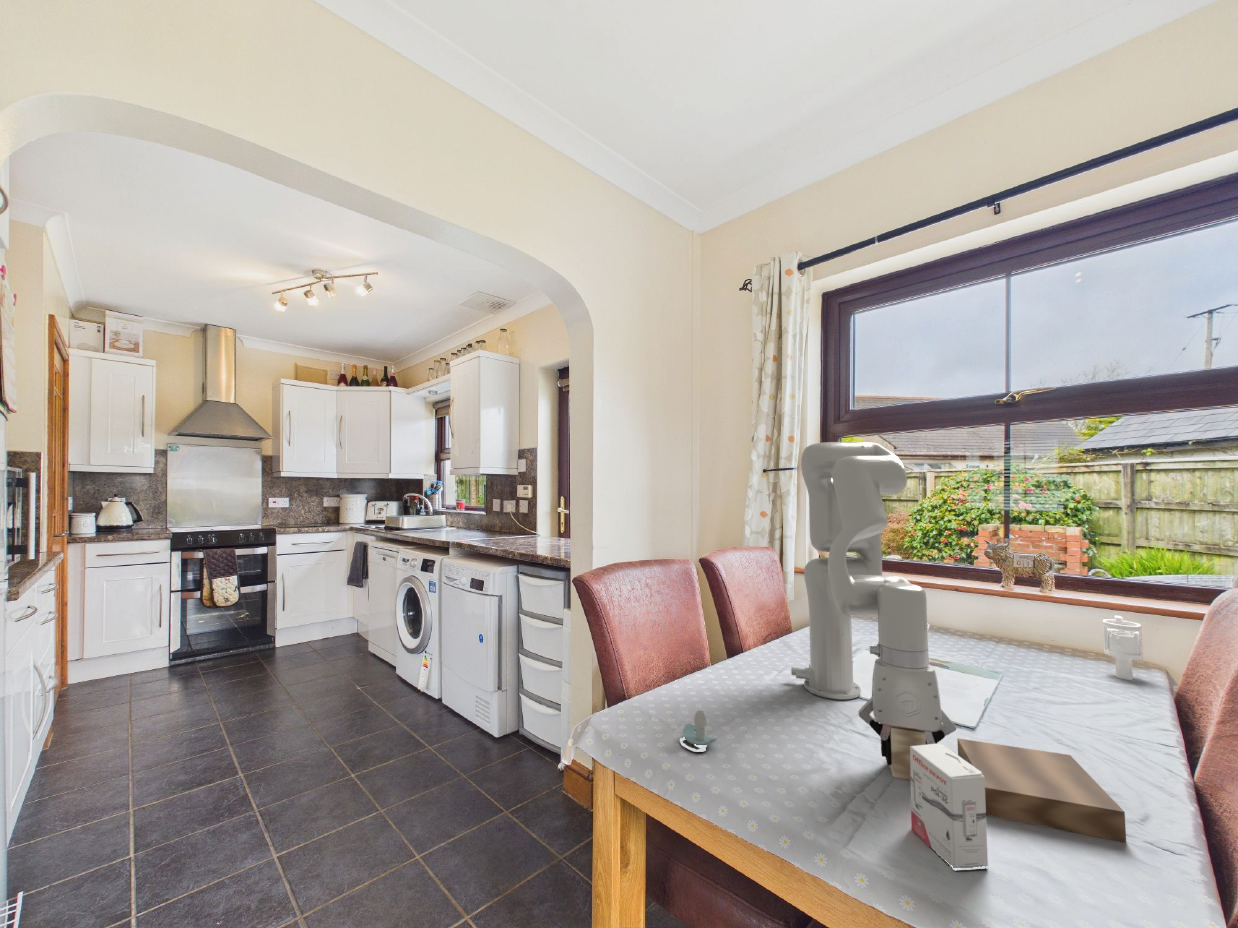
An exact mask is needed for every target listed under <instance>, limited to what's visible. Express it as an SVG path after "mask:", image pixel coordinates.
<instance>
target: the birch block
mask: <svg viewBox="0 0 1238 928" xmlns="http://www.w3.org/2000/svg"><path fill="white" fill-rule="evenodd" d="M889 737H890V741H891V758H892V764H891V765H889V767H890V771H891V775H892V778H898V779H902V780H909V781H911V770H910V746H917V745H926V739H925V731H920V730H913V729H906V728H900V727H893V726H890V733H889Z"/></svg>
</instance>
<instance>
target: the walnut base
mask: <svg viewBox="0 0 1238 928" xmlns="http://www.w3.org/2000/svg"><path fill="white" fill-rule="evenodd" d="M956 740H957V755H958V756H960V757H961V758H962V759H964V760H965V761H967V762H968V763H970V764H971V765H972V766H974V767H975V768H976V769H978V770H980V771H981V772H982V774H983V775H984V780H985V804H986V817H987V816H988V817H994V818H997V819H998V818H999V819H1004V820H1008V821H1009V820H1010V821H1015V822H1020V823H1024V824H1025V823H1026V824H1029V825H1033V826H1034V825H1035V826H1041V827H1045V828H1050V829H1056V830H1060V831H1067V832H1072V833H1076V834H1082V835H1087V836H1092V837H1098V838H1102V839H1108V840H1112V839H1113V841H1118V840H1119V841H1120V842H1123V841H1124V843H1127V830H1126V829H1127V828H1126V827H1127V826H1126V813H1125V811H1124V810H1123V808H1122V807H1121V806H1120V805H1119V804H1118V803H1117V802H1116V801H1115V800H1114V799H1113V798H1112V797H1111V796H1110V795H1109V794H1108V792H1107V791H1105V789H1103V788H1102V787H1101V786H1100V785H1099V784H1098V782H1097V781H1096V780H1095V779H1094V778H1093V777H1092V776H1091V775H1090V774H1089V773H1088V772H1087V771H1086V770H1085V769H1084V768H1083V766H1081V765H1080V763H1079V762H1078V761H1077V760H1076V759H1075V758H1074V757H1073V756H1072V755H1071V754H1066V753H1059V752H1053V751H1052V752H1051V751H1046V750H1039V749H1031V748H1024V747H1019V746H1014V745H1013V746H1012V745H1006V744H998V743H991V742H986V741H985V742H984V741H979V740H978V741H977V740H973V739H972V740H971V739H965V738H959V737H957V739H956ZM1119 841H1118V842H1119Z"/></svg>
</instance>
